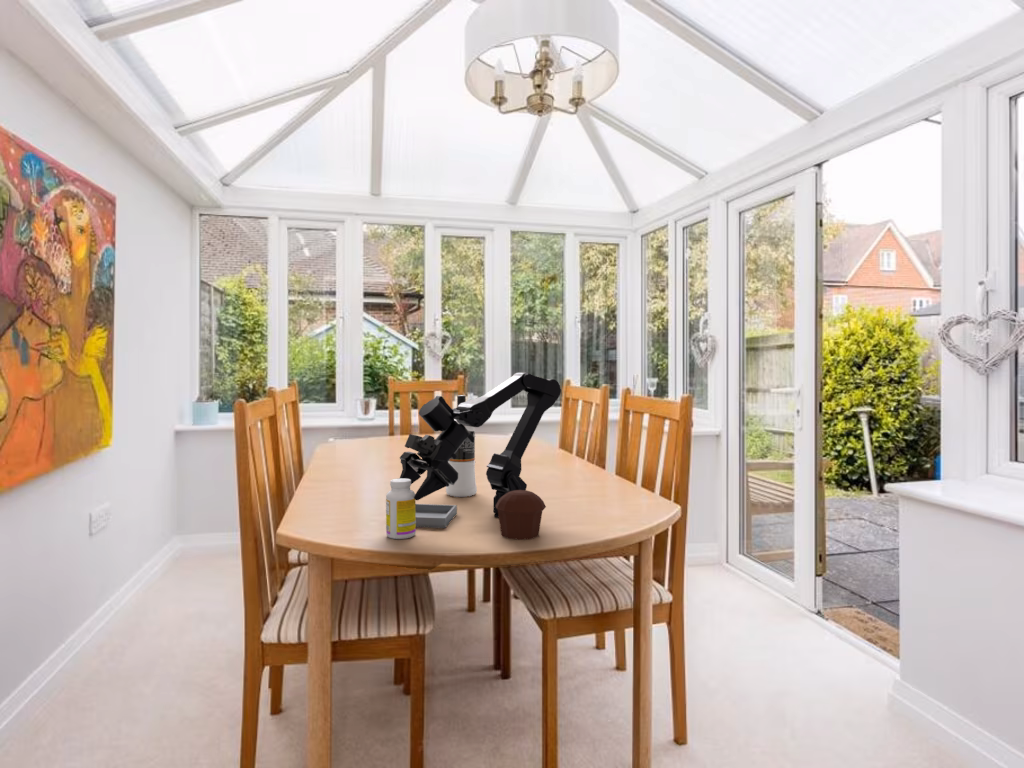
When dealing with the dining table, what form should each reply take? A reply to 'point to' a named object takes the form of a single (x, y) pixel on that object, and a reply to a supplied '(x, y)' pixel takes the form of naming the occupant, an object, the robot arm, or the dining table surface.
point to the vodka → (464, 465)
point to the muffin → (520, 514)
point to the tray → (434, 515)
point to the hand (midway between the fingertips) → (405, 495)
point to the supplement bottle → (400, 510)
